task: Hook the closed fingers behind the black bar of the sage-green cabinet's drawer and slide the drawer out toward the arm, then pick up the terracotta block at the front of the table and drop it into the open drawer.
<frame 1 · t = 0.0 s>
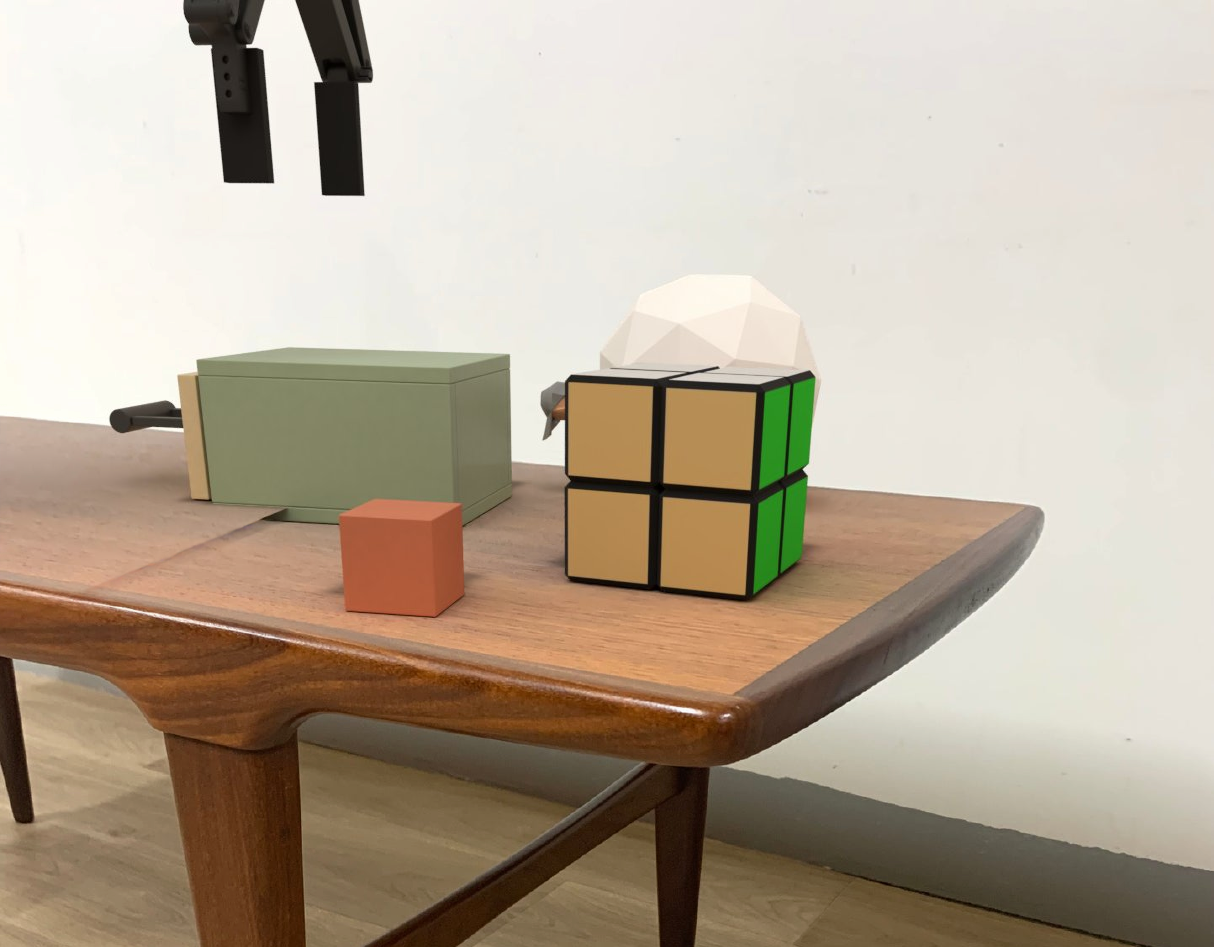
hand: (300, 190, 76), 19 cm above the table, tool pointing down, fingers open, 13 cm apart
drawer: (284, 429, 81), point 5 cm above the table, slide at 0.5 cm
cabinet: (370, 506, 82), on the table
person on sphere: (677, 499, 88), on the table
puzzle cube: (686, 575, 66), on the table
block: (406, 602, 59), on the table
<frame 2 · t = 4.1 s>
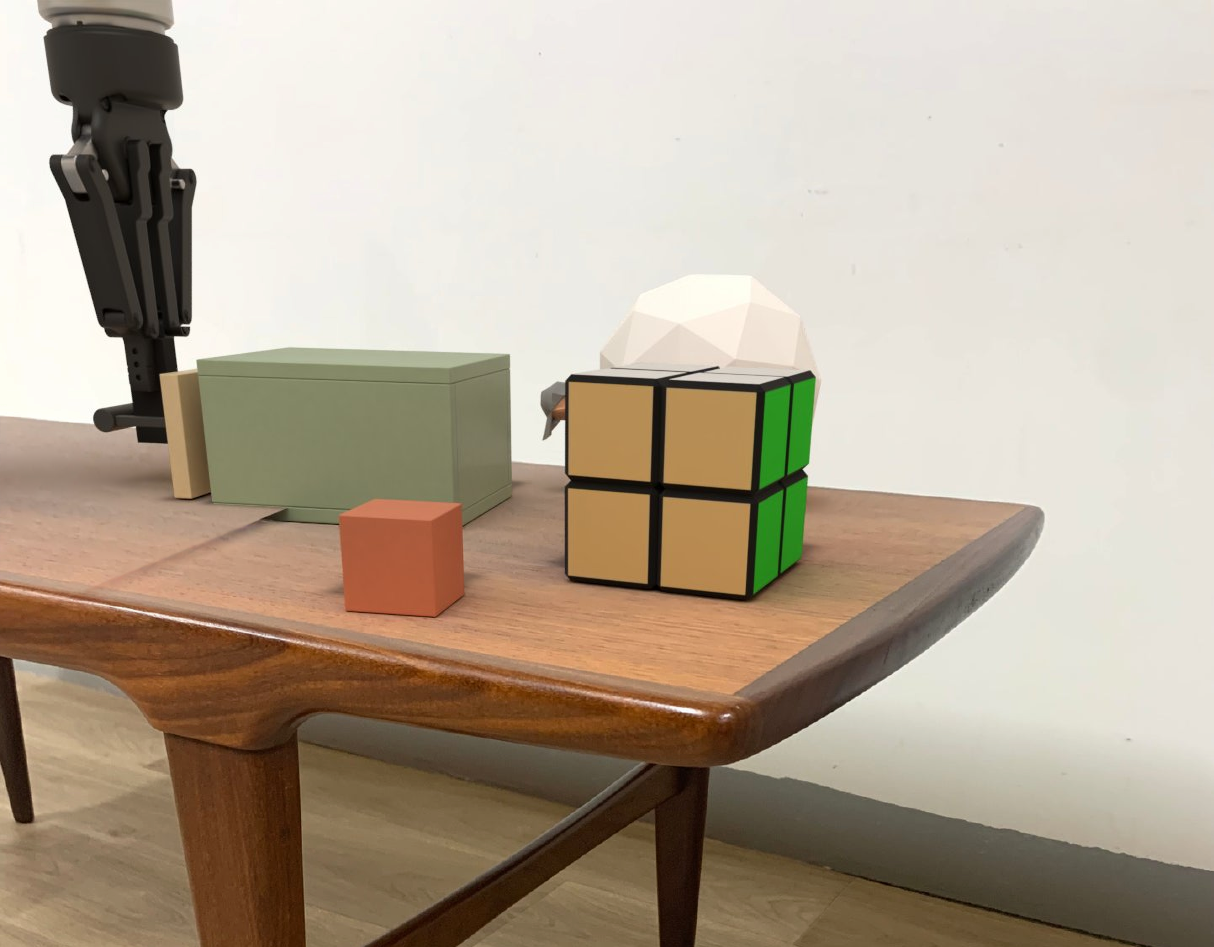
hand: (162, 441, 83), 4 cm above the table, tool pointing down, fingers closed
drawer: (267, 428, 82), point 5 cm above the table, slide at 1.7 cm
everything else where it was.
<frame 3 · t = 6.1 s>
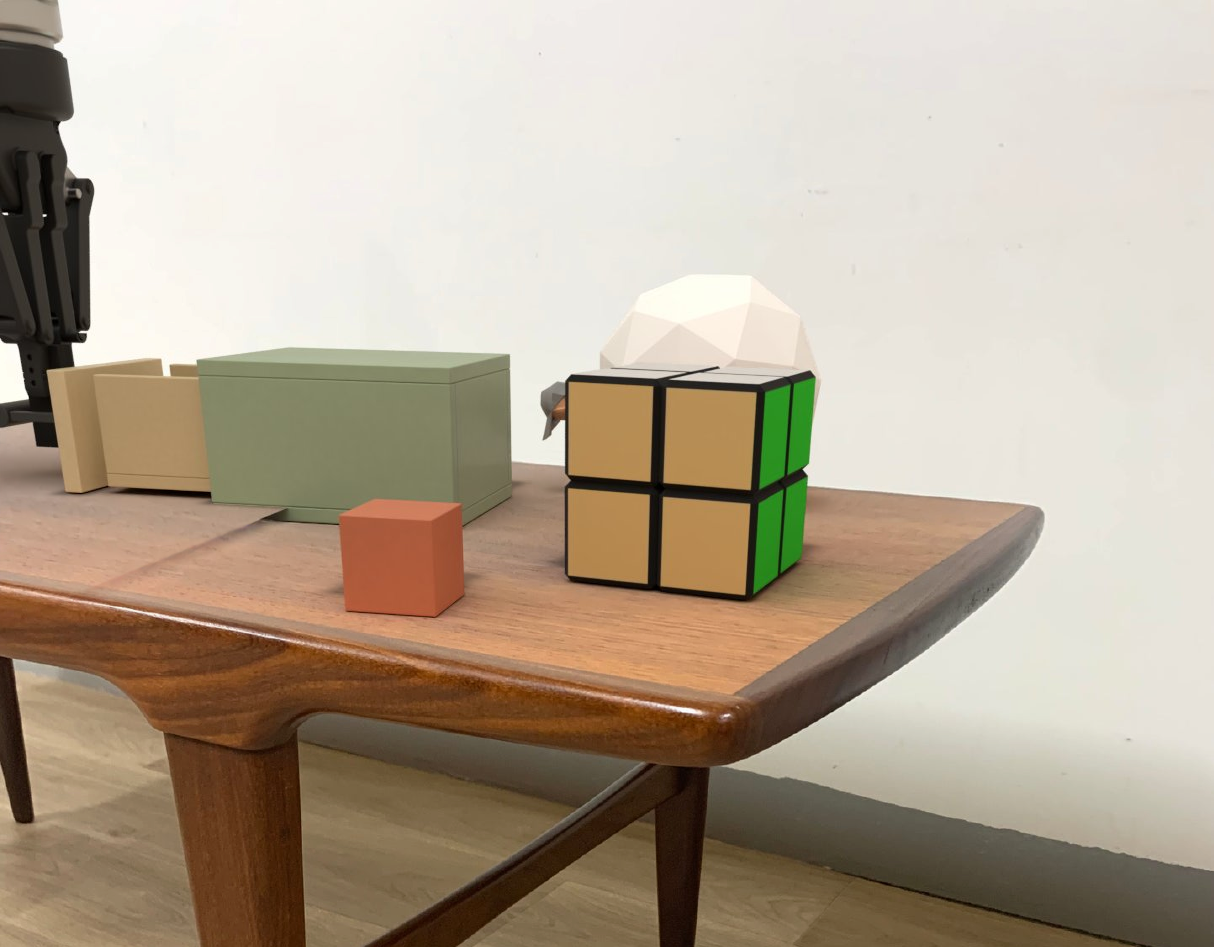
hand: (60, 445, 85), 3 cm above the table, tool pointing down, fingers closed
drawer: (160, 424, 83), point 5 cm above the table, slide at 9.3 cm
everything else where it was.
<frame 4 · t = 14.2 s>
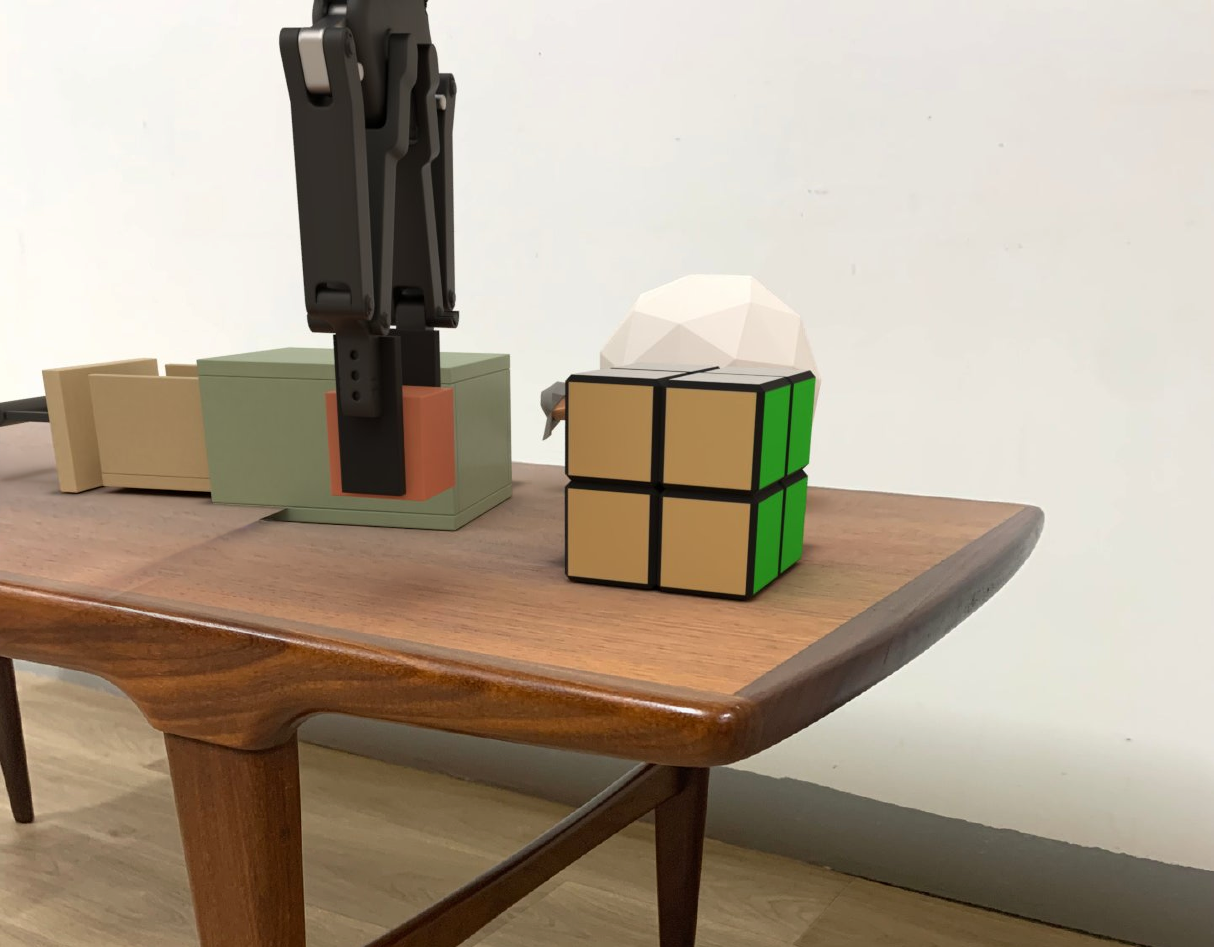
hand: (394, 482, 57), 6 cm above the table, tool pointing down, fingers closed on block, 4 cm apart
drawer: (156, 424, 83), point 5 cm above the table, slide at 9.6 cm
block: (395, 490, 57), point 5 cm above the table, touching gripper
everything else where it was.
when the fingers open (11 cm above the table, at t = 19.3 s): block drops 8 cm, resting on drawer.
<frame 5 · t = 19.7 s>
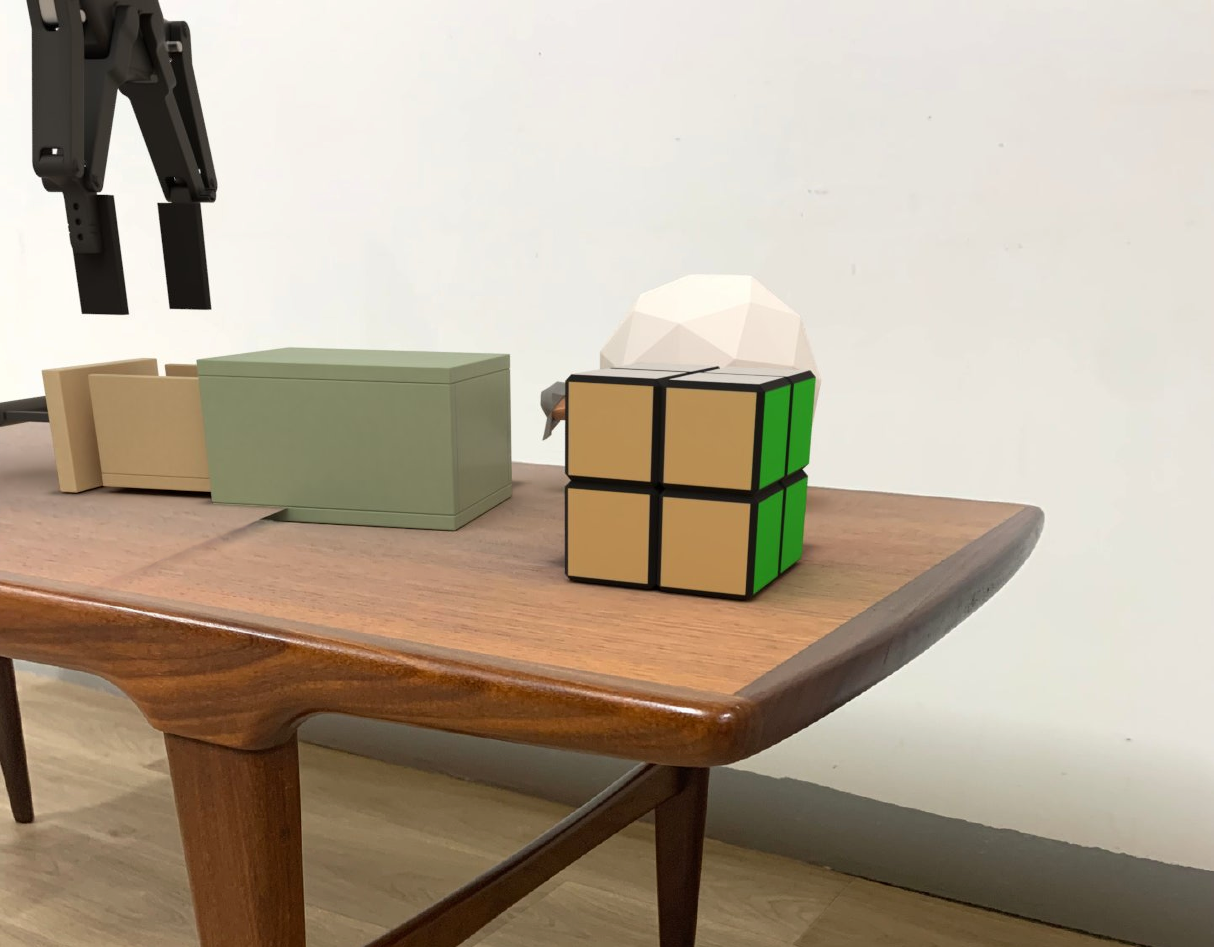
hand: (150, 311, 80), 12 cm above the table, tool pointing down, fingers open, 10 cm apart
drawer: (156, 424, 83), point 5 cm above the table, slide at 9.6 cm, touching block
block: (169, 463, 84), point 2 cm above the table, touching drawer
everything else where it was.
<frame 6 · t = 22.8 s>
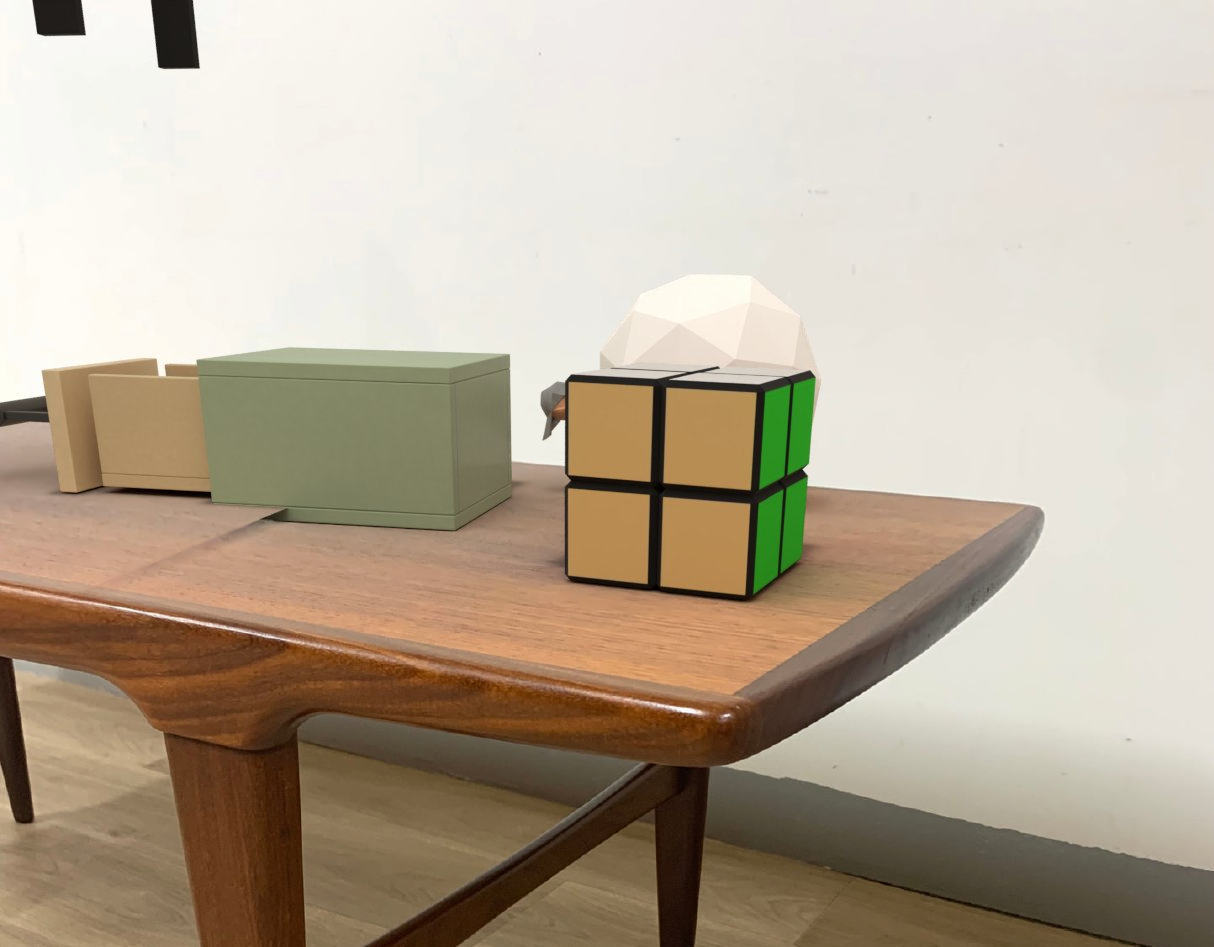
hand: (124, 53, 80), 27 cm above the table, tool pointing down, fingers open, 13 cm apart
nothing on the table moved.
at the end: drawer slide at 9.6 cm; block inside the target area in the drawer (1.7 cm from its centre), point 2.1 cm above the cabinet's base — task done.
